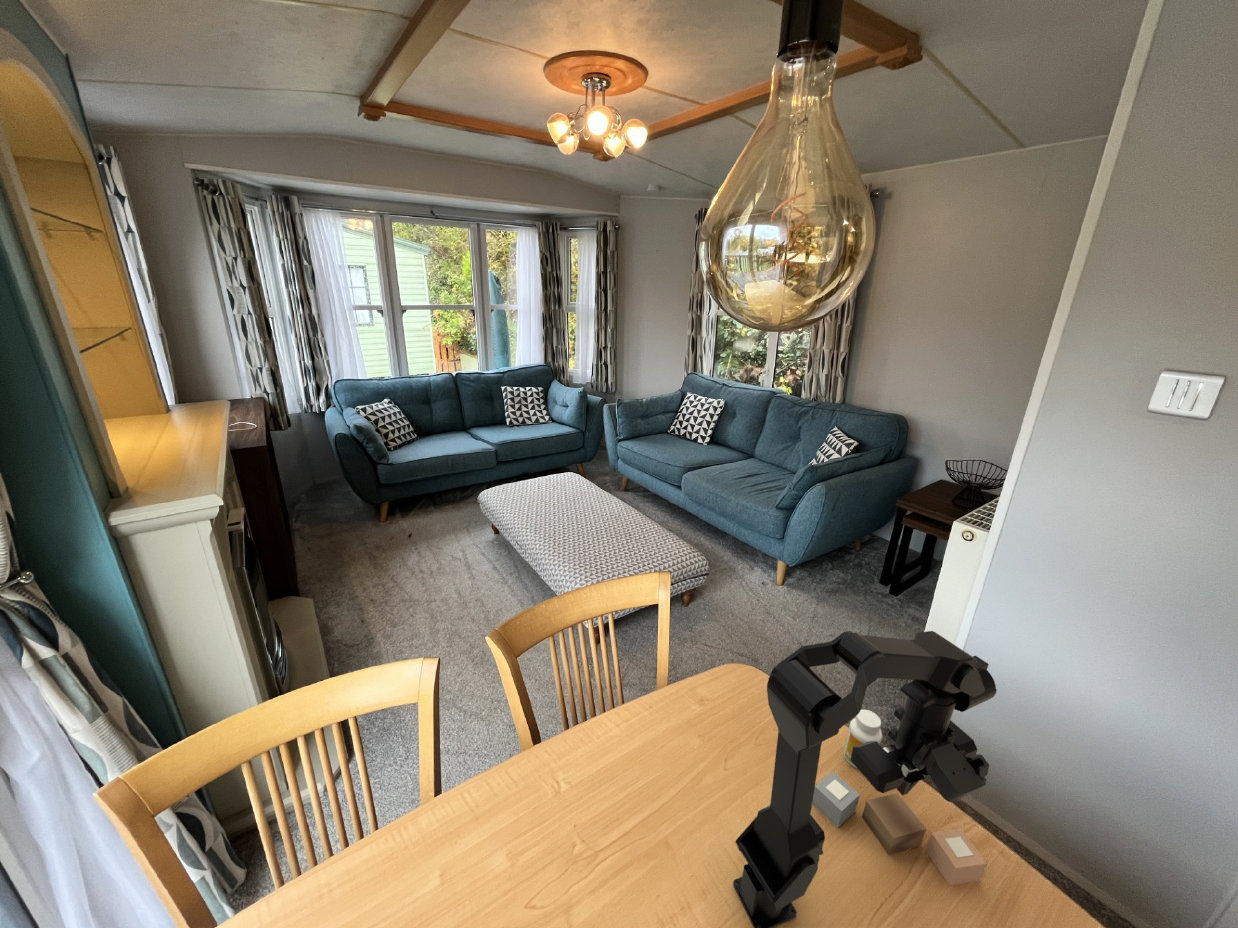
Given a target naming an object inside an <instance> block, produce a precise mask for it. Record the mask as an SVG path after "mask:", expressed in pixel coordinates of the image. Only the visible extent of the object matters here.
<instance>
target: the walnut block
mask: <svg viewBox="0 0 1238 928" xmlns="http://www.w3.org/2000/svg"><path fill="white" fill-rule="evenodd" d="M861 815H862V816H861V818H862V820H863V821H864V822H865V824H866V825H867V827H868V828H869V830H870V831H871V833H873V835H874V836H875V837H874V838H876V839H877V842H878V843H879V845H881V847H882V849H883V850H884V851H885V853H886V854H887V856H889V855H893V854H897V853H900V852H904V851H908V850H911V849H915V848H918V847H921V846H922V843H923V840H924V837H925V835H926V831H927V827H926V826H925V825H924V824H923V823H922V821H920V819H919V818H918V816H917V815H916V814H915V813H914V812H913V810H912V809H911V808H910V806H909V805H908V804H907V803H906V801H905V800H904V799H903V798H902V796H901V794H899V793H898V792H896V793H890V794H887V795H883V796H879V797H875V798H872V799H868V800H867V799H866V801H865V805H864V808H863V811H862V814H861Z"/></svg>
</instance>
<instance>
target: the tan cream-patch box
mask: <svg viewBox="0 0 1238 928" xmlns="http://www.w3.org/2000/svg"><path fill="white" fill-rule="evenodd" d="M925 852H926V853H927V854H928V856H929V857H930V859H931V860H932V861H933V863H934V865H935V867H936V868H937V870H938V871H939V872H940V874H941V875H942V877H943V879H944V880H945V881H946V883H947V885H948V886H955V885H956V886H957V885H964V884H969V883H976V882H981V879H982V877H983V875H984V872H985V869H986V867H987V865H988V862H987V861H986V860H985V859H984V857H983V856H982V855H981V853H980V852H979V851H978V849H977V848H976V847H975V845H974V844H973V843H972V841H971V839H969V837H968V836H967V834H966V833H965V832H964V831H963V829H962V828H957V829H948V830H940V831H932V832H930V835H929V839H928V841H927V845H926V846H925Z"/></svg>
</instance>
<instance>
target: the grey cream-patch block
mask: <svg viewBox="0 0 1238 928" xmlns="http://www.w3.org/2000/svg"><path fill="white" fill-rule="evenodd" d="M860 796H861V794H860V793H859V792H858V791H856V790H855V789H854V788H853V787H852V786H851V785H850V784H848V782H846V781H845V780H844V779H843V778H841V776H839V775H838V773H836V772H835V771H831V772H829V774H827V775H826V776H825V777H824V778H823V779H821V780H820V781H818V782H817V784H816V783H815V789H814V795H813V801H812V806H814V807H815V808H816V809H817V810H818V811H819V812H820V813H821V814H822V815H823V816H824V817H826V819H828V820H829V822H831V824H833V825H834V826H835V827H836V828H839V827H840V826H841V825H842V824H843V823H844V822H845V821H847V819H849V818H850V817H851V816H852V815H853V814H854V813H855V812H856V810H857V807H858V803H859V800H860V799H859V798H860Z"/></svg>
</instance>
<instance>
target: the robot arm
mask: <svg viewBox="0 0 1238 928" xmlns="http://www.w3.org/2000/svg"><path fill="white" fill-rule="evenodd" d="M912 637H913V638H912V639H904V638H903V639H902V638H894V637H883V636H874V635H864V634H860V633H858V632H853V631H851V630H847V631H844V632H842V633H840V634H838V635H837V636H836V637H835V638H834V639H832V640H831V641H826V642H821V643H815V644H814V643H813V644H809V645H803V646H801V647H799V648H798V649H796V650H795V651H794V652H792V653H791V654H790V655H789V656H786V657H785V658H784V659H782V661H780V662H779V663H777V665H776V666H774V667H773V668H772V670H771V671H770V675H769V677H768V679H767V684H766V693H767V703H768V707H769V710H770V712H771V715H772V716H773V720H774V721H775V724H776V726H777V731H778V733H777V740H776V741H777V742H776V751H775V758H774V768H773V777H772V784H771V785H772V786H771V795H770V804H769V805H767V806H765V807H763V808H761V809H760V810H758V811H757V815H756V817H755V818H754V819H753V820H752V821H751V822H750V823H749V824H748V826H747V827H746V828H745V829H744V830H743V831H742V833H741V834H740V835H739V836H738V837H737V839H736V840H735V844H736V847H737V849H738V851H739V852H740V853H741V855H742V857H743V858H744V860H745V861H746V862H747V864H744V865H743V870H742V876H740V877H738V878H735V879H734V880H733V882H732V883H733V884H732V885H733V888H734V890H735V892H736V894H737V896H738V898H739V900H740V902H741V904H742V906H743V908H744V910H745V912H746V915H747V916H748V918H749V920H750V922H751V925H752V926H753V928H758V927H759V928H775V927H777V926H779V925H781V924H784V923H785V922H788V921H791V920H793V919H795V918H796V917H797V910H796V908H795V906H794V905H793V902H795V901H797V900H798V899H800V898H802V897H803V896H805V894H806V892H807V890H808V889H809V887H810V884H811V883H812V881H813V880H814V877H815V876H816V874H817V872H818V870H819V866H818V864H819V861H820V856H822V855H824V851H823V846H824V843H825V841H826V835H825V831H824V829H822V827H821V825H820V824H819V823H818V822H817V821H816V819H815V818H814V817H813V816H812V814H811V813H812V806H813V804H812V801H813V795H814V789H815V785H816V782H817V775H818V768H819V761H820V755H821V750H822V749H821V747H822V744H823V742H825V741H827V740H829V739H831V738H832V737H835V736H837V735H838V734H839V732H840V729H842V727H844V726H845V725H846V724H848V723H849V722H851V721H852V720H853V719H854V718H856V716H857V715H858V714H859V712H860V710H862V706H863V703H864V699H865V695H866V691H867V688H868V687H869V686H871V685H872V684H873V683H874V682H875V681H877V679H886V680H887V679H891V680H910V681H909V682H906V683H904V684H903V685H902V686H901V687H900V692H901V693H903V694H904V695H905V700H904V703H903V706H902V707H899V708H896V709H894V711H893V715H894V716H895V717H896V718H897V720H898V724H897V727H895V728H892V729H889V731H888V734H887V736H888V737H889V738H890V739H891V740H892V742H894V744H893V743H892V744H888V745H886V746H883V747H882V746H881V744H880V745H879V743H878V742H877V741H869V742H866V743H863V744H860V745H857V746H854V747H853V749H852V753H851V759H850V760H851V761H852V762H853V764H854V765H855V766H856V767H857V768H858V769H857V768H856V769H857V770H858V771H859V772H860V773H861V774H862V775H863V777H864V778H865V779H866V780H867V781H868V782H869V783H870V785H872V787H873V788H874V789H875V790H876V792H879V793H881V794H884V793H887V792H890V791H893V790H897V791H898V792H899V793H900V795H901V796H904V795H907V794H909V792H911V790H912V789H913V788H914V787H915V786H916V785H917V784H918V783H919V782H920V781H923V780H925V779H926V777H925V776H929V778H930V780H931V781H932V782H933V783H934V785H935V787H936V788H937V789H938V790H937V791H939V794H940V796H941V797H942V798H943V800H945V801H946V802H948V803H954V802H955V801H958V800H960V799H962V798H965V797H968V796H970V795H971V794H973V793H974V792H976V791H978V790H979V789H981V788H983V787H985V786H986V785H987V783H986V782H987V781H988V779H986V777H987V776H988V774H989V767H990V764H989V763H988V761H987V760H986V759H985V757H984V756H983V755H982V754H978V753H977V752H978V747H977V745H976V743H975V740H974V739H973V738H972V737H971V736H969V734H967V733H966V732H965V731H963V729H961V728H960V727H959V726H958V725H957V724H955V722H953V721H952V716H953V714H954V710H956V711H958V712H961V713H964V712H966V711H967V710H970V709H971V708H972V709H973V708H974V707H977V706H978V705H980V704H984V703H985V702H987V701H990V700H991V699H993V698H994V697H995V696H996V694H997V691H998V690H997V687H996V682H995V679H994V677H993V676H992V675H991V673H990V671H989V670H988V668H989V665H990V664H989V663H988V662H986V661H985V660H983V659H982V658H980V657H979V656H977V655H975V654H974V655H971V654H969V653H968V652H966V651H965V650H963V649H962V648H960V647H958V646H957V645H955V644H954V643H952V642H951V641H950V640H948V639H946V638H945V637H943V636H942V635H940V634H939V633H937V632H936V631H933V630H929V631H928V630H927V631H922V632H921V631H919V632H915V634H914V635H913V636H912ZM839 662H840V663H842V664H843V665H844V666H845V667H846V668H848V669H849V670H850V671H851V672H852V673H853V674H854V675H855V678H854V681H853V684H852V688H851V690H850V692H849V693H848V694H846V695H845V696H844V697H843V698H842V696H840V695H839V694H838V693H837V692H836V691H835V690H834V689H833V688H831V686H829V684H828V683H827V682H825V681H824V679H822V678H821V677H820V675H818V674H817V673H816V672H815V671H814V670H813V669H811V668H814V667H820V666H826V665H833V664H837V663H839Z"/></svg>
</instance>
